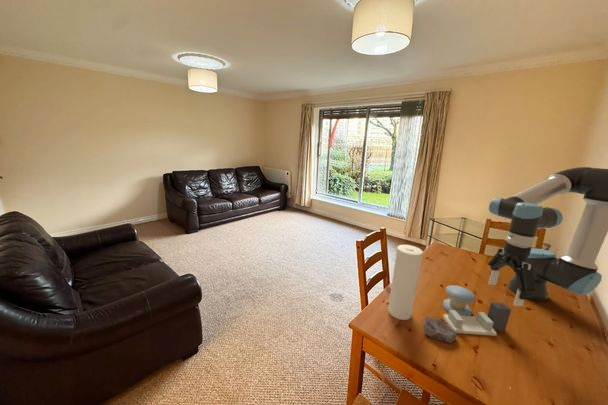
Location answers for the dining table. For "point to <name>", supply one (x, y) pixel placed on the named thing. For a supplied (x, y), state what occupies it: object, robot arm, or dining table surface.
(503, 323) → the gray rectangular block
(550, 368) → the dining table surface
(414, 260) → the cylinder container
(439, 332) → the rock
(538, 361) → the dining table surface
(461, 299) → the spool
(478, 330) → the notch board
